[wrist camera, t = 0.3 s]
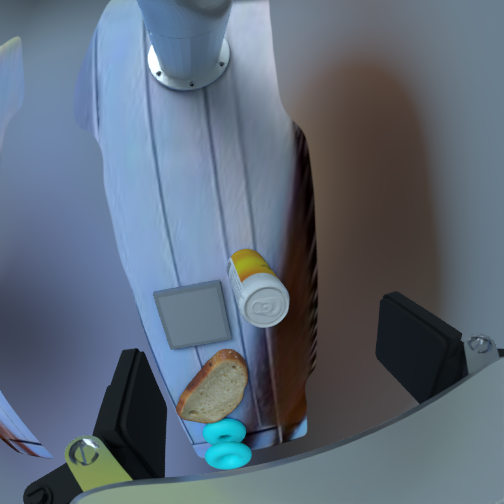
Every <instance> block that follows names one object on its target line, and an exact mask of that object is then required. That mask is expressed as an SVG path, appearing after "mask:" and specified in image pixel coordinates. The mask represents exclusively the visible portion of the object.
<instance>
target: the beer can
mask: <svg viewBox="0 0 504 504" xmlns="http://www.w3.org/2000/svg"><path fill="white" fill-rule="evenodd" d="M227 273H228V276H229V279H230V282H231V286H232V289H233V292H234V295H235V298H236V301H237V305H238V308H239V311H240V313H241V315H242V317H243V318H244V319H245V320H246V321H247V322H249V323H251V324H252V325H254V326H256V327H261V328H266V327H271V326H274V325H276V324H278V323H279V322H280V321H281V320H282V319H283V318H284V317H285V316H286V314H287V312H288V308H289V294H288V292H287V290H286V288H285V287H284V285H283V284H282V283H281V281H280V280H279V279H278V277H277V276H276V275H275V273H274V272H273V271H272V269H271V268H270V267H269V265H268V264H267V263H266V261H265V260H264V259H263V258H262V256H261V255H260V254H259V253H258V252H256V251H254V250H252V249H242V250H239V251H237V252H235V253H234V254H233V255H232V256H231V257H230V259H229V261H228V263H227Z"/></svg>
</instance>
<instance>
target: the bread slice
mask: <svg viewBox="0 0 504 504" xmlns="http://www.w3.org/2000/svg"><path fill="white" fill-rule="evenodd" d="M247 382H248V369H247V364H246V362H245V360H244V358H243V357H242V356H241V355H240V354H239V353H238V352H236V351H235V350H232V349H222V350H220V351H218V352H217V353H216V354H215V355H214V356H213V357H212V358H211V359H210V360H208V361H207V362H206V364H205V365H204V366H203V367H202V368H201V370H200V371H199V372H198V373H197V375H196V376H195V377H194V378H193V380H192V381H191V382H190V383H189V384H188V386H187V387H186V389H185V390H184V392H183V393H182V394H181V396H180V399H179V402H178V404H177V407H176V412H177V414H178V415H179V416H180V417H181V418H182V419H184V420H188V421H194V422H199V423H215V422H218V421H220V420H221V419H223V418H224V417H226V416H227V415H228V414H230V413H231V412H232V411H233V410H234V409H235V408H236V407H237V406H238V404H239V403H240V402H241V400H242V399H243V395H244V394H243V392H244V388H245V386H246V385H247Z"/></svg>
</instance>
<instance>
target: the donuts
mask: <svg viewBox="0 0 504 504" xmlns="http://www.w3.org/2000/svg"><path fill="white" fill-rule="evenodd" d="M245 435H246V428H245V426H244V425H243V424H242V423H241V422H239V421H237V420H235V419H230V418H223V419H221V420H220V421H218V422H215V423H208V424H207V425H206V426H205V427H204V429H203V437H204V439H205V440H206V441H207V442H208V443H209V444H211V445H213V446H211V447H210V448H209V449H208V450H207V451H206V453H205V459H206V461H207V463H208V464H209V465H211V466H212V467H215V468H218V469H235V468H238V467H241V466H243V465H245V464H246V463H248V461H250V459H251V456H252V453H251V450H250V448H249V447H248V446H246V445H245V444H243V443H240V442H241V441H242V440H243V439H244V437H245Z"/></svg>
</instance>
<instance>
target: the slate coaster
mask: <svg viewBox="0 0 504 504" xmlns="http://www.w3.org/2000/svg"><path fill="white" fill-rule="evenodd" d="M153 296H154V299H155V303H156V306H157V309H158V313H159V316H160V319H161V322H162V325H163V328H164V331H165V334H166V337H167V340H168V343H169V346H170V349H171V350H172V349H179V348H185V347H191V346H197V345H202V344H208V343H213V342H219V341H224V340H229V339H231V335H230V330H229V325H228V320H227V316H226V311H225V306H224V301H223V296H222V291H221V286H220V281H219V280H214V281H209V282H204V283H198V284H193V285H188V286H182V287H177V288H171V289H166V290H160V291H155V292H154V293H153Z"/></svg>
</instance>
